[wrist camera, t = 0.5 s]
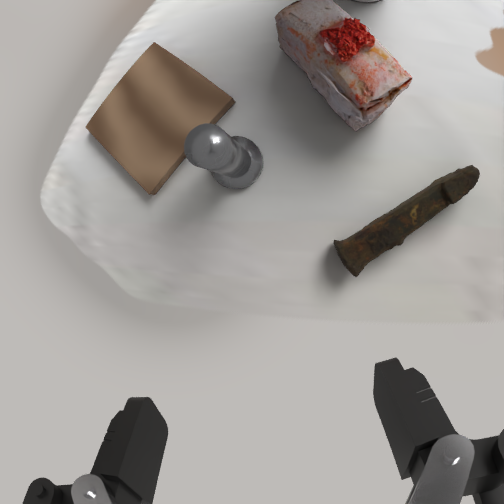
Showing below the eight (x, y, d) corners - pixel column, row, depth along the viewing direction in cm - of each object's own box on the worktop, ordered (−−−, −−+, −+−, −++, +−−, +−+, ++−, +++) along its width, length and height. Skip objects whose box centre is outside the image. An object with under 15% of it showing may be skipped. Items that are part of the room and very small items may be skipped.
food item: (401, 103, 28) (432, 70, 18) (350, 141, 30) (369, 116, 20) (320, 22, 28) (322, -28, 18) (269, 55, 30) (255, 9, 20)
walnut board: (159, 46, 31) (154, 42, 30) (235, 102, 31) (232, 98, 30) (92, 129, 34) (85, 127, 33) (155, 194, 34) (149, 194, 33)
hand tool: (347, 272, 32) (354, 284, 28) (330, 241, 32) (334, 247, 27) (475, 191, 28) (496, 190, 24) (461, 160, 28) (481, 156, 23)
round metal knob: (236, 128, 31) (205, 96, 21) (273, 161, 31) (259, 140, 21) (202, 165, 33) (157, 151, 22) (238, 199, 33) (206, 198, 22)
